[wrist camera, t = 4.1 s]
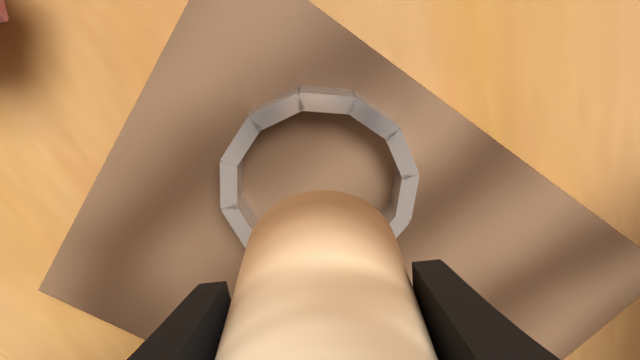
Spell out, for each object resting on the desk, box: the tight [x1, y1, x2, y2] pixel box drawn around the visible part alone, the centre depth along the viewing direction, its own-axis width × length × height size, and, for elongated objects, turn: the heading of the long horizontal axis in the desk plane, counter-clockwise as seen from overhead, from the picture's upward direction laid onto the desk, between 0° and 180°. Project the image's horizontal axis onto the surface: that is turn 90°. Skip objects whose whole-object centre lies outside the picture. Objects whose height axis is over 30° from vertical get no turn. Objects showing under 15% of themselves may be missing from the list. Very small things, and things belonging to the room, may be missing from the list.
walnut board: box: [39, 0, 640, 360], centre depth 18 cm, size 22×16×2 cm
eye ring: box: [220, 86, 419, 248], centre depth 15 cm, size 7×7×1 cm
